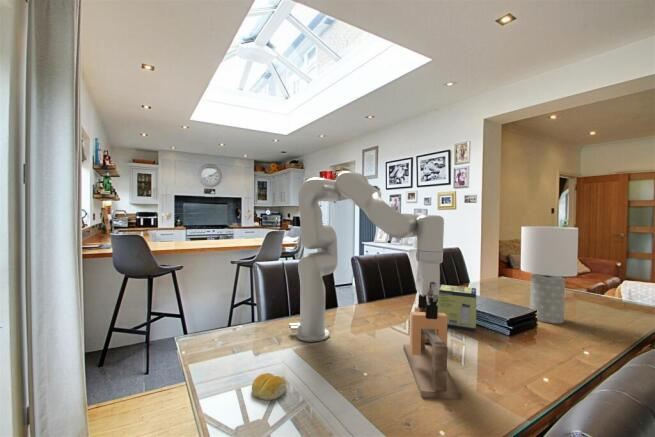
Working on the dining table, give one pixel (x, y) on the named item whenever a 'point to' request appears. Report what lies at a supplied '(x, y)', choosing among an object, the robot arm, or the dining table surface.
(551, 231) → the lamp
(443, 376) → the rail stand
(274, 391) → the bread roll
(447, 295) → the protein box
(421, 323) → the wooden arch block
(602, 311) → the dining table surface
